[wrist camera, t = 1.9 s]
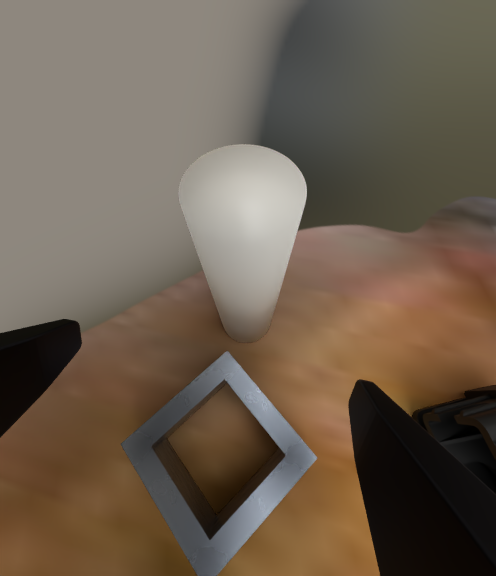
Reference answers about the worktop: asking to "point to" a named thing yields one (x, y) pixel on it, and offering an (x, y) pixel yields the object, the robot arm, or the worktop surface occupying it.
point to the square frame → (183, 490)
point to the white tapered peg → (243, 230)
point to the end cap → (466, 430)
